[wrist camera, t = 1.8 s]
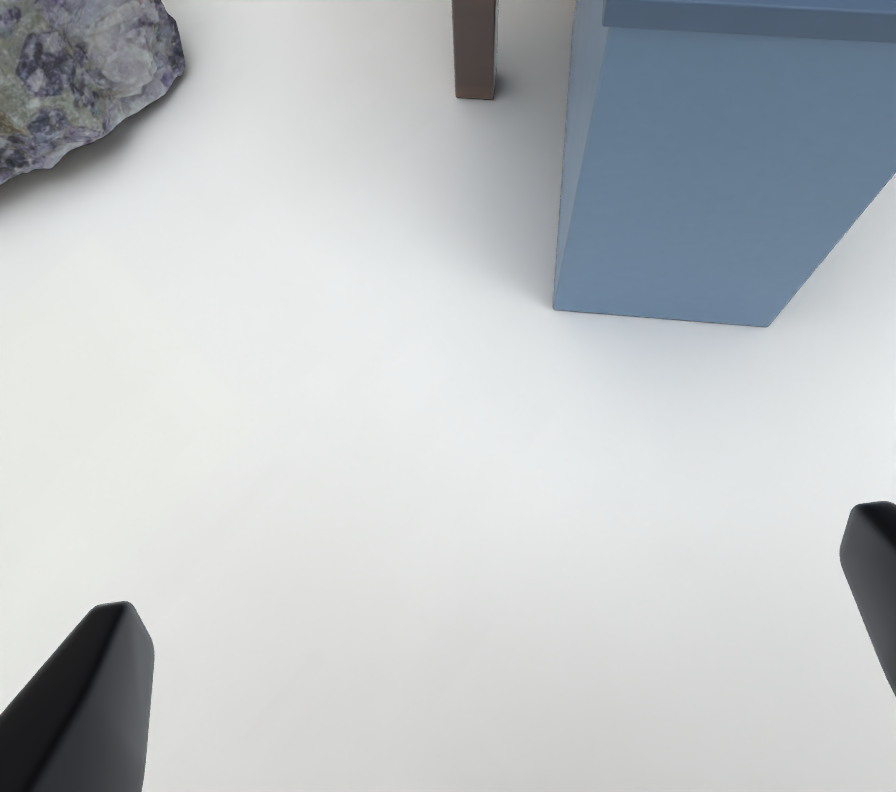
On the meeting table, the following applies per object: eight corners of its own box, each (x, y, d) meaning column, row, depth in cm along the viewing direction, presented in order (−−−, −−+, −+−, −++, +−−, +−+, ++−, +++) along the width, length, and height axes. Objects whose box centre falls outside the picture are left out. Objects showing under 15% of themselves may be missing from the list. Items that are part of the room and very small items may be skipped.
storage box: (773, 332, 26) (1039, 21, 14) (547, 314, 26) (606, -2, 14) (765, 31, 30) (966, -421, 18) (569, 20, 30) (630, -427, 18)
